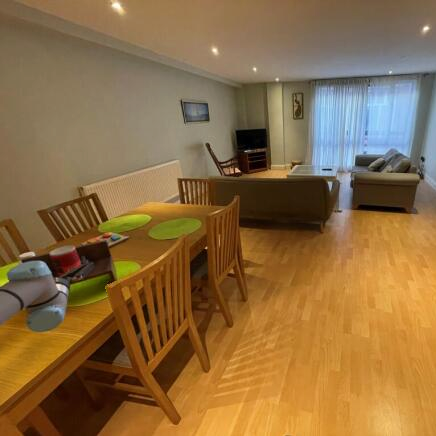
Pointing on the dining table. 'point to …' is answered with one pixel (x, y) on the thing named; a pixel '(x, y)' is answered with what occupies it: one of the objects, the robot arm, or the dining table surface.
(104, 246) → the shelf
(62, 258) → the canned food
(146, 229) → the dining table surface
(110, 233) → the puzzle board
